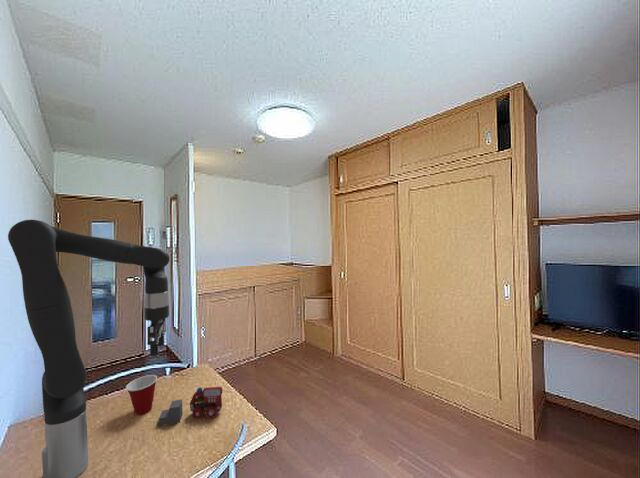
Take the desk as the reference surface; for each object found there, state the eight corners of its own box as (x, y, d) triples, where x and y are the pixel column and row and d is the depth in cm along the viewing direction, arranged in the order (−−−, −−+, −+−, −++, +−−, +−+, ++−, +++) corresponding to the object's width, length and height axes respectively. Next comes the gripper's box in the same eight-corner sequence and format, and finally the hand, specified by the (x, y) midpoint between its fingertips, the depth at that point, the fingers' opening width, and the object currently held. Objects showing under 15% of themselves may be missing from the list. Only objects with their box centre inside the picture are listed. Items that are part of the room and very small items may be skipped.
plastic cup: (125, 409, 115) (124, 380, 115) (156, 399, 121) (155, 372, 121) (127, 423, 106) (126, 391, 106) (160, 412, 113) (159, 382, 113)
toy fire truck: (195, 408, 115) (194, 382, 115) (225, 407, 115) (225, 382, 115) (187, 419, 108) (186, 392, 108) (219, 418, 108) (218, 391, 108)
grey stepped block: (159, 426, 104) (158, 410, 104) (162, 418, 109) (162, 402, 109) (180, 422, 106) (179, 406, 106) (182, 414, 111) (181, 399, 111)
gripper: (150, 301, 106) (151, 344, 106) (138, 310, 92) (138, 360, 92) (172, 299, 108) (173, 342, 108) (163, 308, 95) (164, 357, 95)
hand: (157, 350), depth 100 cm, fingers open, 8 cm apart
